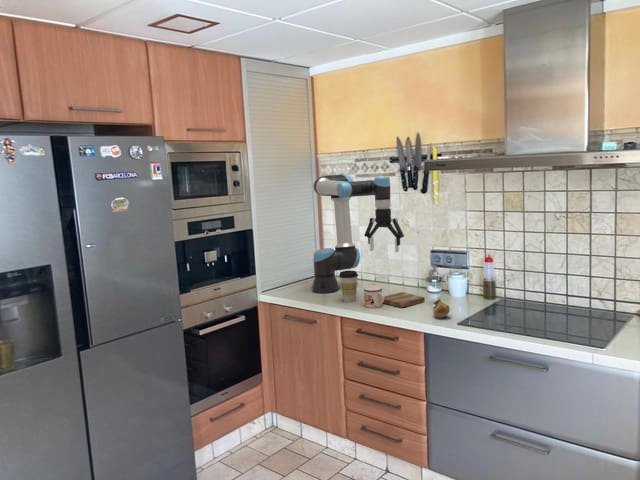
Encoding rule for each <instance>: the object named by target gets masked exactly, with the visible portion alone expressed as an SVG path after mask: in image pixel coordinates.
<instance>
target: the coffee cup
mask: <svg viewBox="0 0 640 480" xmlns="http://www.w3.org/2000/svg"><path fill="white" fill-rule="evenodd" d="M358 276H359V275H358V272H357V271H355V270H343V271H342V270H341V271H340V272H339V274H338V277H339V279H340V280H339V281H340V288H341V294H342V298H343V302H345V303H353V302H356V300H357V299H356V297H357V288H358Z"/></svg>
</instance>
